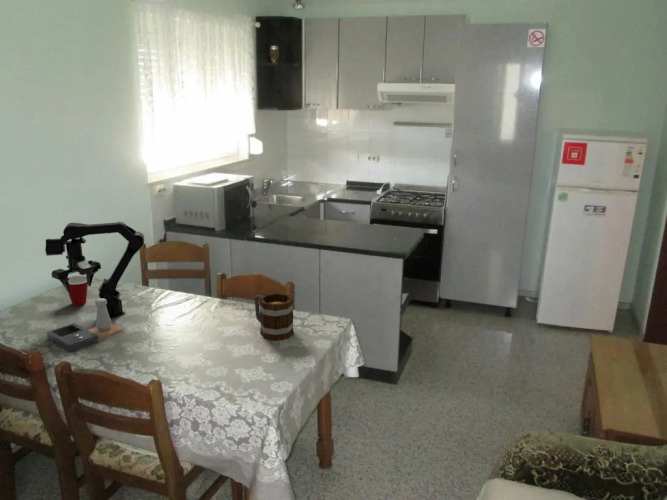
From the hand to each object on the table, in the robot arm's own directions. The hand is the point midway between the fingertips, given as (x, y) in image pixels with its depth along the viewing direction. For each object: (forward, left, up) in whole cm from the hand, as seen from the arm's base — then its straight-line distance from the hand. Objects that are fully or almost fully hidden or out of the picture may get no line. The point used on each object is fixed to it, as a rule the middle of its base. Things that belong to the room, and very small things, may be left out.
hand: (79, 289), depth 229 cm
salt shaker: (+2, +20, -12) cm, 24 cm away
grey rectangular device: (+14, +18, -13) cm, 26 cm away
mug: (-41, +72, -13) cm, 84 cm away
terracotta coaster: (+2, +20, -13) cm, 24 cm away
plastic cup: (-7, -17, -13) cm, 23 cm away
